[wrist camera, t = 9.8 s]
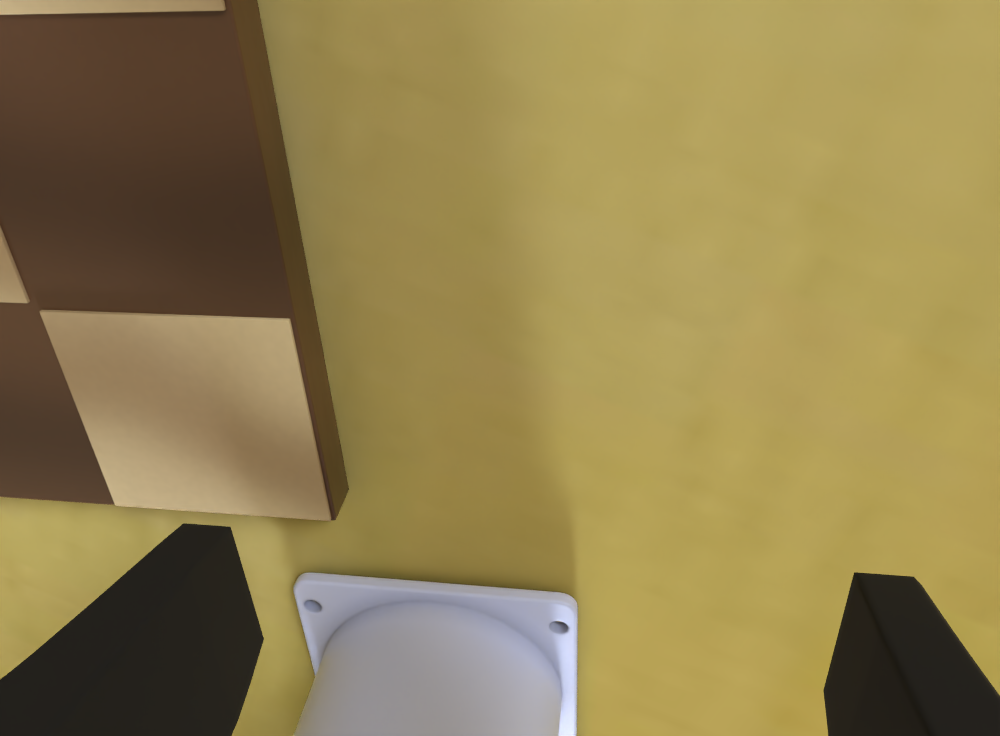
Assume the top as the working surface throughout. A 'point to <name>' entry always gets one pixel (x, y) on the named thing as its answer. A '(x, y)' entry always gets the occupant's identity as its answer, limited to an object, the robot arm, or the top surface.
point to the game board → (154, 267)
